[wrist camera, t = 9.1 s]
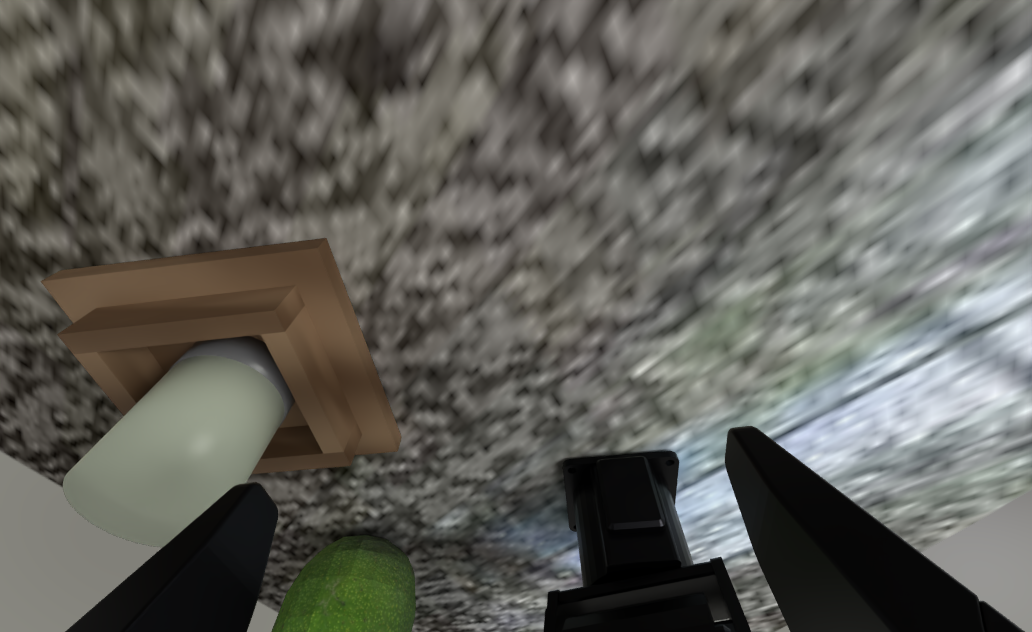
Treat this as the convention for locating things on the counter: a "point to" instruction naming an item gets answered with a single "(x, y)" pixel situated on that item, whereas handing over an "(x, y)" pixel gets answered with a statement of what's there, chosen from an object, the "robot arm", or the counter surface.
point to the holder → (235, 313)
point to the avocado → (352, 590)
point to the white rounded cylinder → (183, 442)
